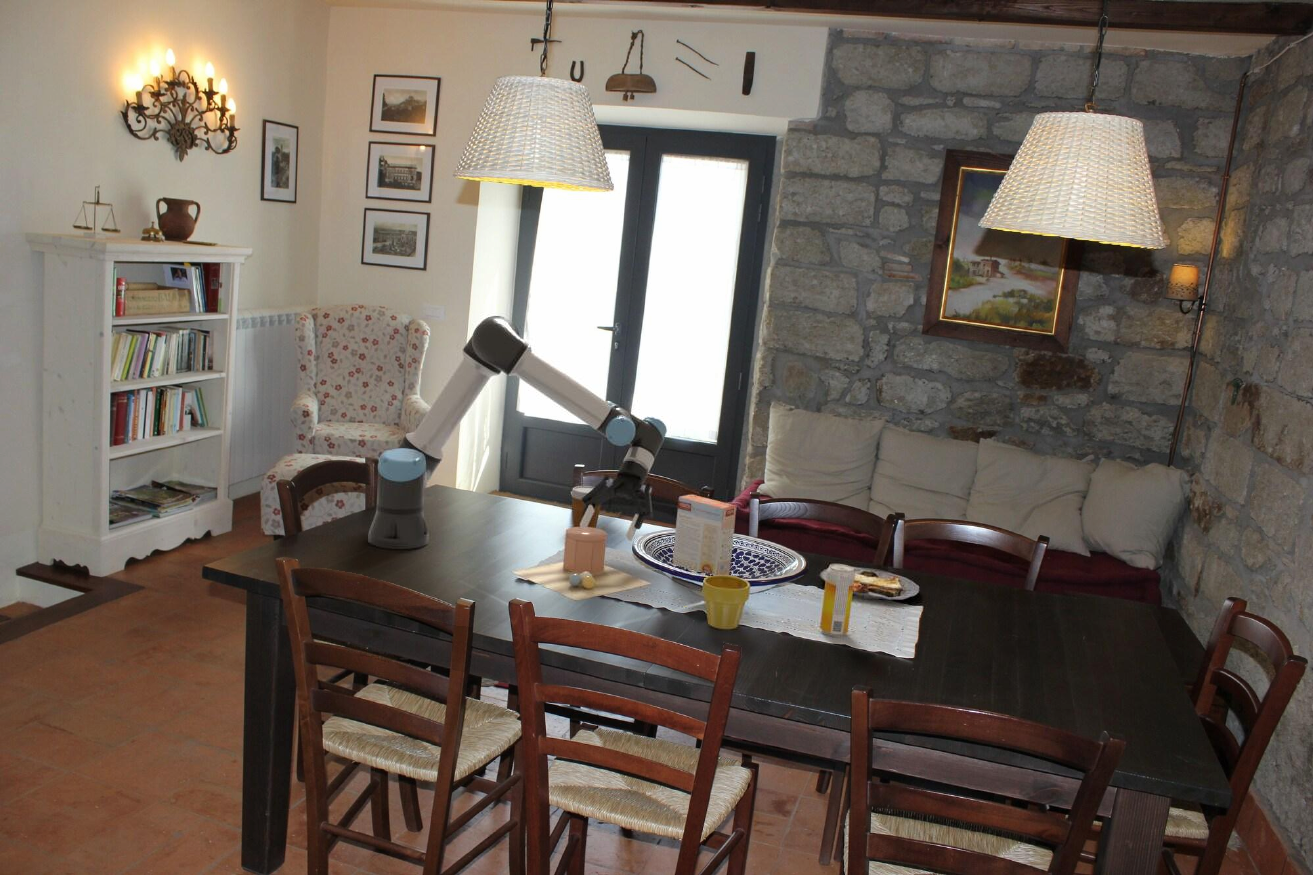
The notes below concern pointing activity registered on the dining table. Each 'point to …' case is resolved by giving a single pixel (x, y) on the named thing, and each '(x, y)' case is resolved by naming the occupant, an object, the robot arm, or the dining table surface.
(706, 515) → the cracker box
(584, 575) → the marble ivory
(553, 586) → the bamboo mat
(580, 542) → the terracotta cup
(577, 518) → the disposable coffee cup
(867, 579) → the food plate
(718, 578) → the plant pot
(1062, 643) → the dining table surface
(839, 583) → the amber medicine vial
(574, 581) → the grey ball
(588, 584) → the marble amber
